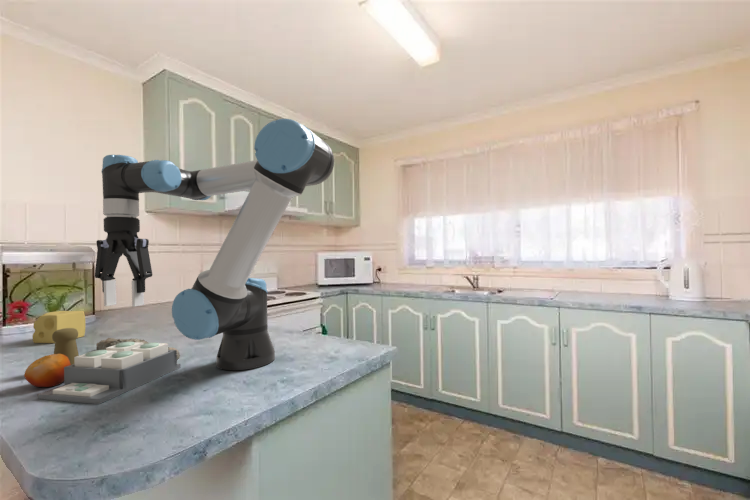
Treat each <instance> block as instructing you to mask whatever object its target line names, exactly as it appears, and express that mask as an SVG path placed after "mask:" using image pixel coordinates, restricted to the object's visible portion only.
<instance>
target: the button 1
mask: <svg viewBox="0 0 750 500" xmlns="http://www.w3.org/2000/svg"><path fill="white" fill-rule="evenodd" d="M114 353H117V351H108V350H97V349H96V350H93V351H88V352H86V353H84V354H81V355H80V354H79V356H76V357H74V359H75V366H76V367H94V368H95V367H98V366H101V358H104V357H107V356H110V355H112V354H114Z"/></svg>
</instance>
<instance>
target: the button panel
mask: <svg viewBox="0 0 750 500" xmlns="http://www.w3.org/2000/svg"><path fill="white" fill-rule="evenodd" d="M181 366H182V365H181V363H178V361H177V351H176V350H168V352H167V353H164V354H162V355H159V356H156V357H154V358H151V359H143V362H140V363H138V364H135V365H132V366H129V367H127V368H124V369H111V368H101V366H98V367H95V368H94V367H76V366H75V364H73V365H70V366H66V367H64V382H63V383H64V384H63V385H61V386H57V387H54V388H52V389H49V390H45V391H43V392H41V393H38V394H37V399H38V400H47V401H48V400H49V401H57V402H68V403H69V402H70V403H71V402H72V403H85V404H95V405H101V404H103V403H104V402H106V401H109V400H112V399H113V398H116V397H118V396H120V395H123V394H124V393H127V392H129V391H132V390H133V389H136V388H138V387H140V386H142V385H145V384H147V383H149V382H151V381H154V380H157V379H158V378H160V377H163V376H165V375H167V374H169V373H171V372H175V371H176V370H178V369H180V368H181Z"/></svg>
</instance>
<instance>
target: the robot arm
mask: <svg viewBox="0 0 750 500" xmlns="http://www.w3.org/2000/svg"><path fill="white" fill-rule="evenodd" d="M253 145H254V148H253V150H255V153H254V154H255V158H256V160H255V159H254V160H250V161H243V162H238V163H237V162H236V163H232V164H226V165H221V166H215V167H208V168H203V169H198V170H191V171H190V170H187V169H182V168H179V166H177V165H175V164H174V162H173V161H170V160H163V159H161V160H159V159H154V160H153V159H152V160H149V161H147V160H146V161H139V162H138V159H136V158H135V157H133V156H129V155H124V154H107V155H105V156H104V157H103V158H102V165H101V166H102V167H101V168H102V169H101V174H102V175H101V176H102V197H103V198H102V215H103V216H105V217H104V218H103V231H104V232H105V233H107V236H106V237H105V239H97V240H96V247H97V252H96V259H95V260H96V261H95V269H94V278H95V279H99V280H101V282H102V288H101V289H102V293H103V306H104V307H111V306H116V305H117V280H116V277H114V275H115V272H116V270H117V267H118V263H119V261H120V258H121V257H122V256H124V257H125V258H126V260H127V262H128V263H127V264H128V265H129V268H130V271H131V272H132V276H133V278H132V280H131V305H132V306H131V307H132V308H133V307H141V306H144V305H145V295H144V293H146V280H147V279H148V278H152V277H153V269H152V264H151V259H150V252H149V241H150V240H149V239H148V238H140V237H139V236H138V233H139V232H141V231H140V230H141V225H140V224H141V223H140V221H141V220H140V219H139V218H138V217H139V216H140V197H139V196H140V194H143V193H155V194H156V193H157V194H162V195H168V196H174V197H178V198H179V197H180V198H185V199H190V200H194V201H207V200H208V199H210V198H211V197H212V196H219V195H226V194H227V195H228V194H233V193H238V192H239V193H240V192H241V193H242V192H246V191H249V192H248V194H247V196H246V198H245V200H244V202H243V203H242V206H241V207H240V210H239V211H238V213H237V216H236V217H235V219H234V220H233V221H234V222H233V223H232V225H231V226H230V229H229V231H228V232H227V234H226V237H225V239H224V241H223V242H222V244H221V246H220V248H219V250H218V252H217V254H216V256H215V258H214V260H213V262H212V264H211V266H210V268H209V269H206V270H203V271H200V272H199V274H198V275H197V278H196V280H195V281H194V283H193V285H192V287H191V288H186V289H184V290H183V291H180V292H179V293H177V295H176V296H175V297H174V299H173V301H172V305H171V317H172V319H173V321H174V322H173V323H174V324H175V327H176V328H177V329H178V331H179V333H181V334H182V336H185V337H186V338H188V339H191V340H194V341H200V340H204V339H210V338H213V337H214V336H217V335H220V334H222V338H221V342H220V344H219V348H218V350H217V354H216V360H215V362H216V367H217V368H218V369H220V370H223V371H224V370H225V371H245V370H252V369H257V368H260V367H263V366H266V365H268V364H270V363H273V362H274V361H275V359H276V354H275V353H276V352H275V348H274V344H273V342H272V340H271V337H270V333H269V330H268V329H269V327H268V290H267V282H266V281H265V279H263V278H256V277H250V276H251V274H252V273H253V270H254V269H255V267H256V265H257V263H258V261H259V259H260V257H261V256H262V254H263V253H264V250H265V248H266V246H267V245H268V243H269V241H270V239H271V237H272V236H273V233H274V232H275V230H276V227H277V226H278V225H279V223H280V220H281V219H282V217H283V215H284V213H285V211H286V209H287V207H288V206H289V204H290V203H291V200H292V199H294V198H295V197H299V196H302V194H303V193H304V190H305V188H306V187H311V186H316V185H320V184H322V183H323V182H325V181H326V180H327V179H328V178H329V177H330V176H331V174H332V172H333V170H334V167H335V158H334V157H335V155H334V153H333V151H332V148H331V147H330V145H329V144H328V143H327V142H326V141H325V140H323V139H322V138H320V137H319V136H318V135H317V134H316V133H314V132H313V131H312V130H311V129H310V128H308V127H307V126H306V125H304V124H301V122H298V121H297V120H294V119H290V118H279V119H276V120H271V121H270V122H269V123H267V124H266V125H264V126H263V127H262V128H261V129H260V131H259V132H258V133H257V136H256V138H255V141H254V144H253Z"/></svg>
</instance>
